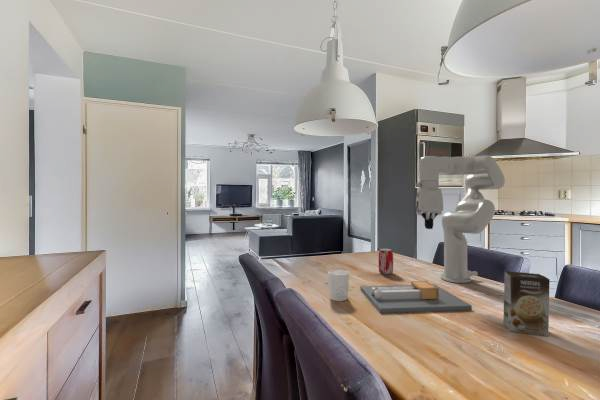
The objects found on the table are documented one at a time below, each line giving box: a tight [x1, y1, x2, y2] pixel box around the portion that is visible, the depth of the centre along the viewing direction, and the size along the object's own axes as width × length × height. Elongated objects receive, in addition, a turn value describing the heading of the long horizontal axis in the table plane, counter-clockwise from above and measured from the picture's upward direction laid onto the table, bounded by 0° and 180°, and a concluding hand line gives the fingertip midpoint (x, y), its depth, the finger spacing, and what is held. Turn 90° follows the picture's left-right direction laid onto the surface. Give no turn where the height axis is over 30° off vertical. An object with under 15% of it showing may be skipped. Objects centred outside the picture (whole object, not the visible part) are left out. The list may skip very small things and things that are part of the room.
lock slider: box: [410, 280, 439, 299], centre depth 110 cm, size 6×9×4 cm, turn 4°
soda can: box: [378, 247, 394, 275], centre depth 147 cm, size 7×7×12 cm
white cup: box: [327, 269, 350, 302], centre depth 111 cm, size 8×8×10 cm
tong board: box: [359, 283, 473, 314], centre depth 110 cm, size 32×24×4 cm
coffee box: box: [503, 270, 551, 337], centre depth 85 cm, size 9×6×16 cm
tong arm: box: [371, 286, 418, 296], centre depth 111 cm, size 21×3×2 cm, turn 94°
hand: (428, 228), depth 124 cm, fingers closed
